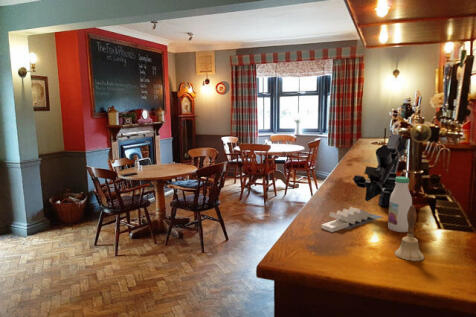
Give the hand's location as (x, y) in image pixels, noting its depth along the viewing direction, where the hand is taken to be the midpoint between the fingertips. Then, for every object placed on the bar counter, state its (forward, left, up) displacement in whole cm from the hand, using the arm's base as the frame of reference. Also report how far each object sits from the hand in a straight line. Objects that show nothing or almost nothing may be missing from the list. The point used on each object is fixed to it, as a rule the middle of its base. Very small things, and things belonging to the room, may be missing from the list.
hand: (366, 200), depth 145 cm
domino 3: (+6, +4, -6) cm, 9 cm away
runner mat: (+5, +3, -8) cm, 9 cm away
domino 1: (+9, +6, -6) cm, 13 cm away
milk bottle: (-6, +14, -8) cm, 17 cm away
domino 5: (-1, -1, -6) cm, 7 cm away
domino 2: (+13, +7, -6) cm, 16 cm away
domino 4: (+2, +1, -6) cm, 7 cm away
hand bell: (+4, +36, -8) cm, 37 cm away
